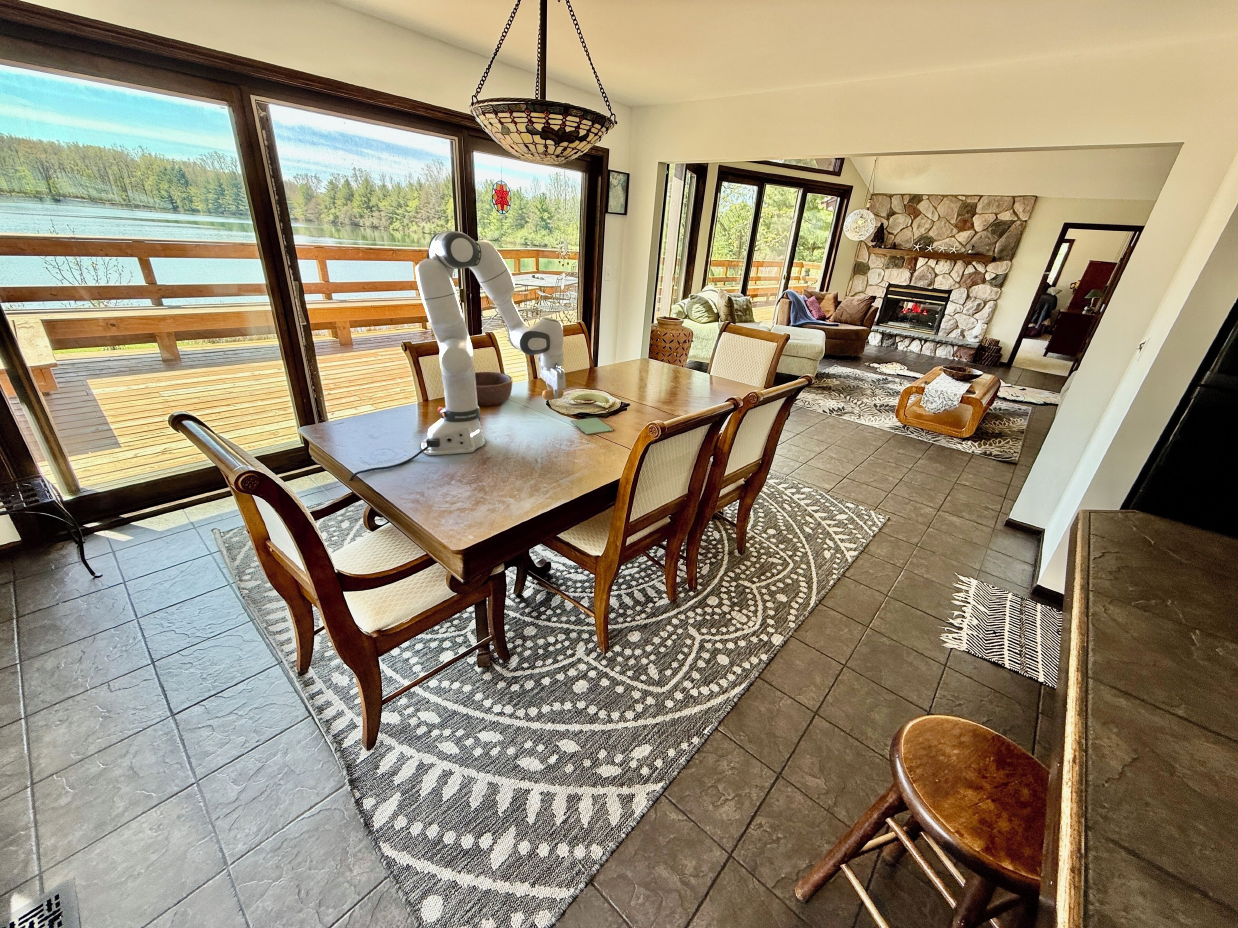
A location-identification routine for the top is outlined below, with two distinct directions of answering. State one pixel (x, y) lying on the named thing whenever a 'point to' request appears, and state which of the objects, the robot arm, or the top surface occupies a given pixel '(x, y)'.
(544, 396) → the roll
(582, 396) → the banana
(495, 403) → the wooden bowl
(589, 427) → the cloth
